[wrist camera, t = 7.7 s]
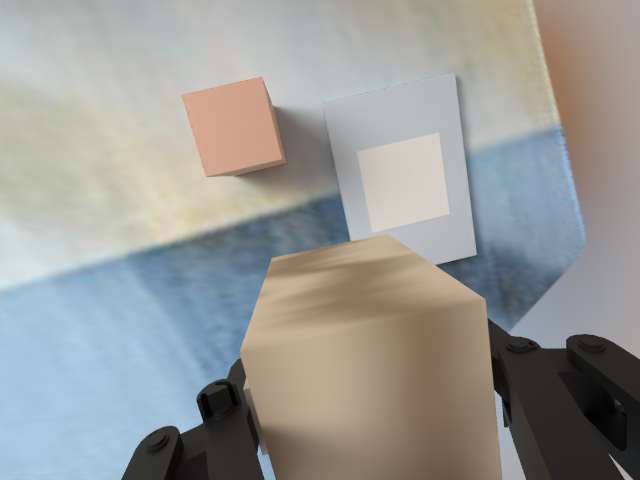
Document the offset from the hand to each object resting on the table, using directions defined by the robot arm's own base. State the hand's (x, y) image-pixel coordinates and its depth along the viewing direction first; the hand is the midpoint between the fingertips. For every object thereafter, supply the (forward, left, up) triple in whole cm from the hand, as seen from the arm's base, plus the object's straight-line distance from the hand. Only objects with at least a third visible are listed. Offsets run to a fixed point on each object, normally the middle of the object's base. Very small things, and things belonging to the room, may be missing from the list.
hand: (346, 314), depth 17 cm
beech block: (0, 0, -2) cm, 2 cm away
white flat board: (+10, +4, -19) cm, 22 cm away
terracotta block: (-5, +12, -19) cm, 23 cm away
